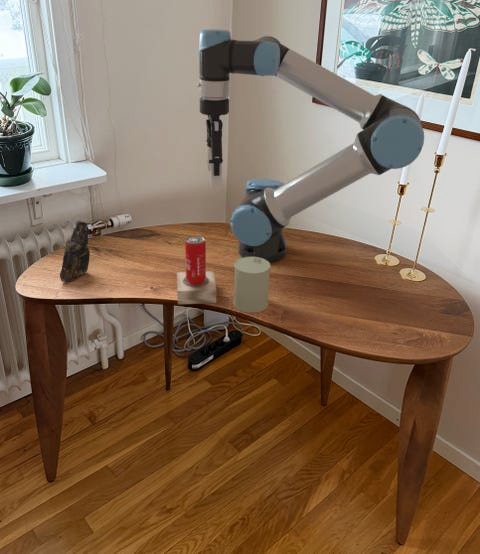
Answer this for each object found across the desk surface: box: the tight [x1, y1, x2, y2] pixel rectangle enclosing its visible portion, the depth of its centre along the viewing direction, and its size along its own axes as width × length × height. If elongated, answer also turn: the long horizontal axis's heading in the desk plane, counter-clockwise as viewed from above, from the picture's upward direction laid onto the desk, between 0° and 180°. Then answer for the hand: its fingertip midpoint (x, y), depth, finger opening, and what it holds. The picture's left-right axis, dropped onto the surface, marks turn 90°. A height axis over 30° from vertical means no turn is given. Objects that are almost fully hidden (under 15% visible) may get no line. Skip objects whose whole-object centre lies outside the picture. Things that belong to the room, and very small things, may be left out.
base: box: [176, 270, 217, 305], centre depth 139 cm, size 10×10×4 cm
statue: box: [59, 220, 91, 283], centre depth 144 cm, size 6×12×15 cm, turn 155°
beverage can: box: [184, 235, 207, 285], centre depth 135 cm, size 5×5×12 cm
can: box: [233, 257, 271, 314], centre depth 134 cm, size 9×9×12 cm
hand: (214, 178), depth 142 cm, fingers open, 13 cm apart
